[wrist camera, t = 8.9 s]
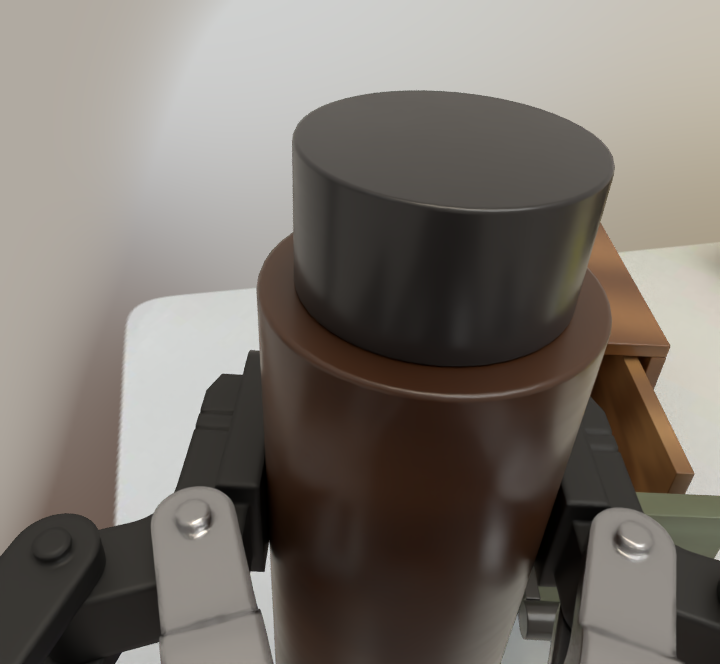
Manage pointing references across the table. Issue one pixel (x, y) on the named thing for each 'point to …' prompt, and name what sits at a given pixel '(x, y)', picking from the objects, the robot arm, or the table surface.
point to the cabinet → (627, 311)
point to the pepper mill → (424, 369)
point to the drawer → (638, 478)
